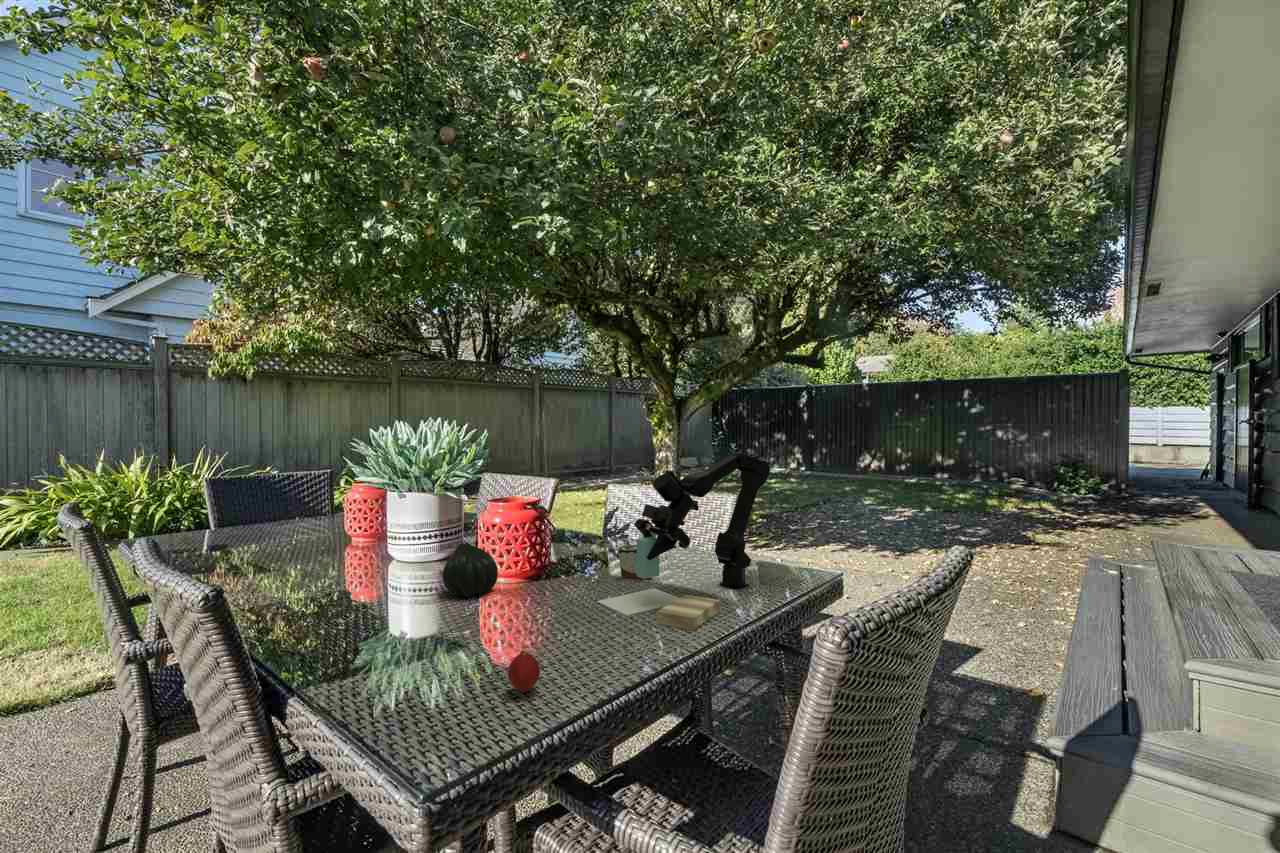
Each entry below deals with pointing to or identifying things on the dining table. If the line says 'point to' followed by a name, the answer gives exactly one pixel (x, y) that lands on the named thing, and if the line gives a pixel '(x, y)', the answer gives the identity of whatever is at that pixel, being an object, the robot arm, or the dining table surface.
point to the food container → (629, 562)
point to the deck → (688, 612)
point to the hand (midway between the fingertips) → (643, 557)
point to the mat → (639, 602)
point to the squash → (469, 571)
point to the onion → (523, 671)
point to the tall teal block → (643, 564)
